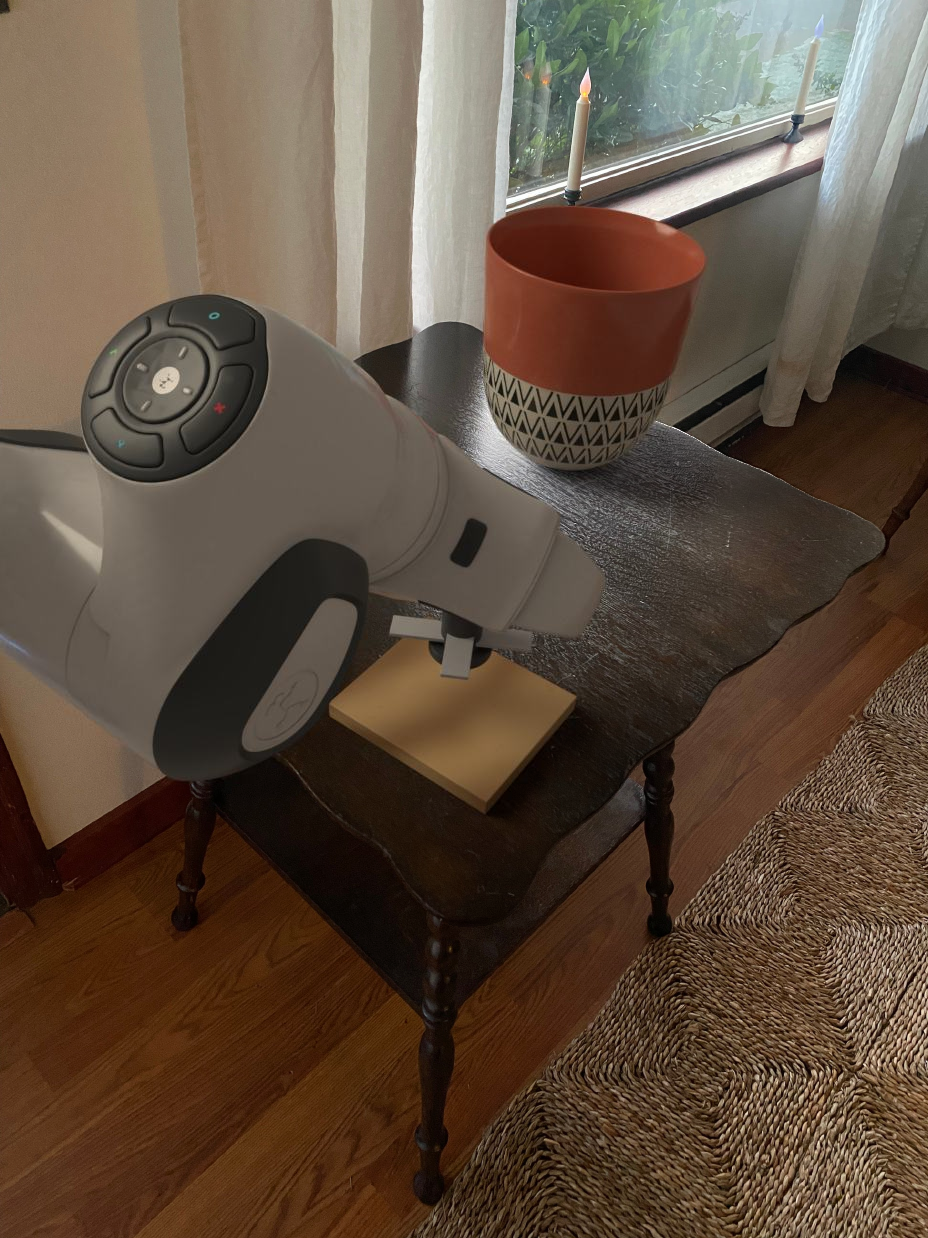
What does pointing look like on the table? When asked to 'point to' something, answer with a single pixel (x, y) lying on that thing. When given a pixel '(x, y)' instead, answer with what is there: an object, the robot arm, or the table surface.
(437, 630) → the blade
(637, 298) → the planter
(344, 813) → the table surface
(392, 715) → the cutting board
